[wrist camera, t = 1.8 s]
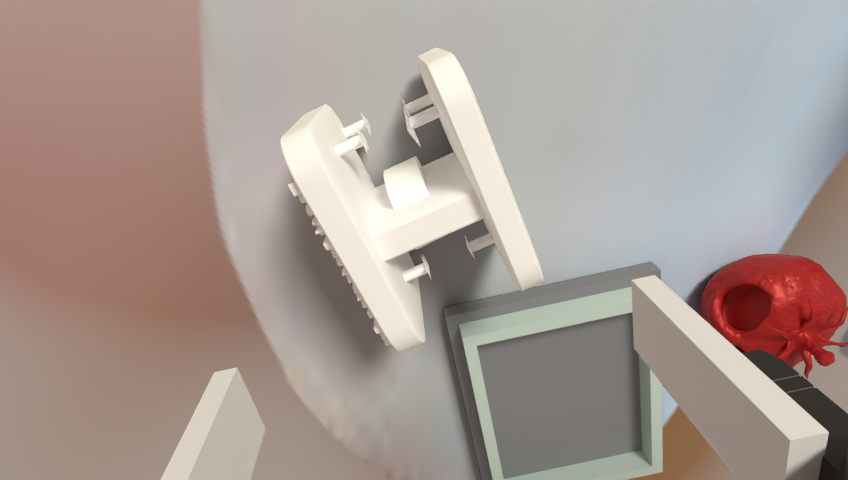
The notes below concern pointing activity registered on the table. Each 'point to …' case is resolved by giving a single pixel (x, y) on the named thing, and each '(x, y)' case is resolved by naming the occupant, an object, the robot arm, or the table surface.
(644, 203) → the table surface
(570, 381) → the grey green tray
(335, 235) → the cable organizer
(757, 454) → the robot arm
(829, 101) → the table surface
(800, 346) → the red tomato
